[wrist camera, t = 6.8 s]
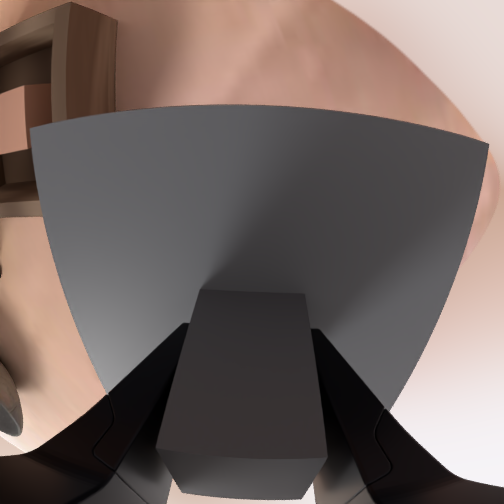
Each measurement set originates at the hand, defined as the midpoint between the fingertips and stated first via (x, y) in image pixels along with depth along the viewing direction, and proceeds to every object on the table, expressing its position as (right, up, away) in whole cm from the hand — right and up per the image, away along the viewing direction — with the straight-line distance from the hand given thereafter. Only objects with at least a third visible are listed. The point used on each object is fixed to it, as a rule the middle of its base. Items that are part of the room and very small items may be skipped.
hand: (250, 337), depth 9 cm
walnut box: (-15, +13, +9) cm, 22 cm away
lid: (0, 0, +2) cm, 2 cm away
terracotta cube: (-15, +12, +8) cm, 21 cm away
